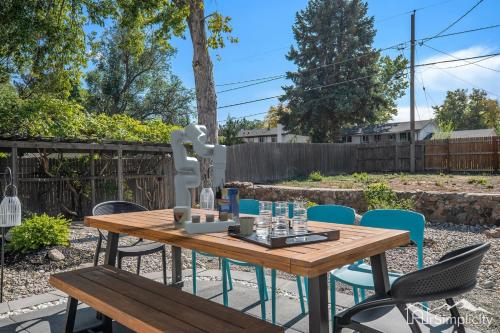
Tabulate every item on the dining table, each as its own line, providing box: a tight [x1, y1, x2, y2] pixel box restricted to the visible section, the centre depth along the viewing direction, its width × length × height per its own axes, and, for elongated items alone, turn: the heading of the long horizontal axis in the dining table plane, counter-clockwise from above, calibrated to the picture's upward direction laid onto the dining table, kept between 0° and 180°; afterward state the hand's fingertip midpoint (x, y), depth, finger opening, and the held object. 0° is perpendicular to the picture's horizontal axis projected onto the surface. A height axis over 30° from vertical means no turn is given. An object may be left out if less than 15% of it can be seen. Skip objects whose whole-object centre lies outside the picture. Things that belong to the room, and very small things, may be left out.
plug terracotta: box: [218, 211, 228, 221], centre depth 218 cm, size 4×4×8 cm
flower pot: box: [238, 216, 257, 236], centre depth 202 cm, size 9×9×9 cm
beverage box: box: [218, 187, 240, 225], centre depth 240 cm, size 7×11×22 cm, turn 52°
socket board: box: [184, 219, 237, 235], centre depth 215 cm, size 12×26×5 cm, turn 112°
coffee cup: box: [172, 206, 189, 229], centre depth 228 cm, size 9×9×12 cm
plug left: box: [191, 214, 201, 223], centre depth 212 cm, size 4×4×8 cm
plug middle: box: [205, 214, 215, 222], centre depth 215 cm, size 4×4×8 cm
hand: (218, 198), depth 220 cm, fingers closed
